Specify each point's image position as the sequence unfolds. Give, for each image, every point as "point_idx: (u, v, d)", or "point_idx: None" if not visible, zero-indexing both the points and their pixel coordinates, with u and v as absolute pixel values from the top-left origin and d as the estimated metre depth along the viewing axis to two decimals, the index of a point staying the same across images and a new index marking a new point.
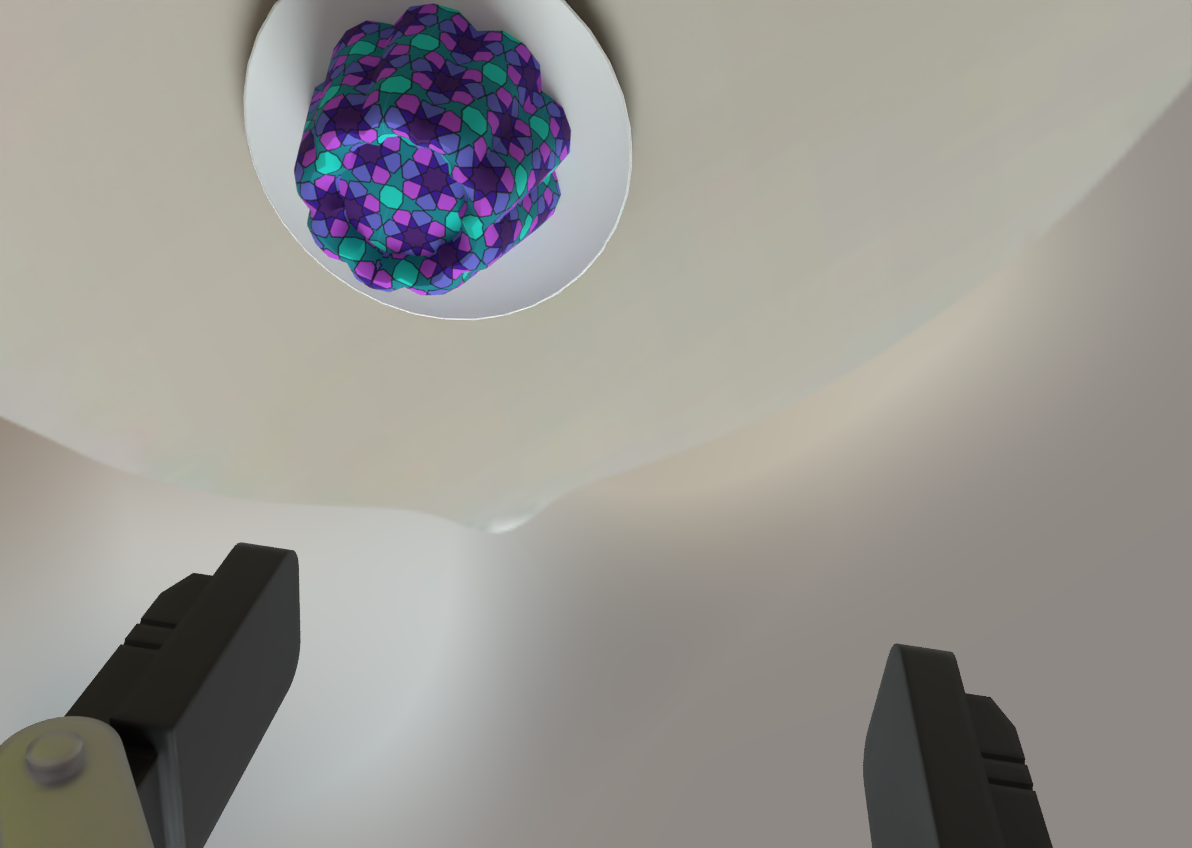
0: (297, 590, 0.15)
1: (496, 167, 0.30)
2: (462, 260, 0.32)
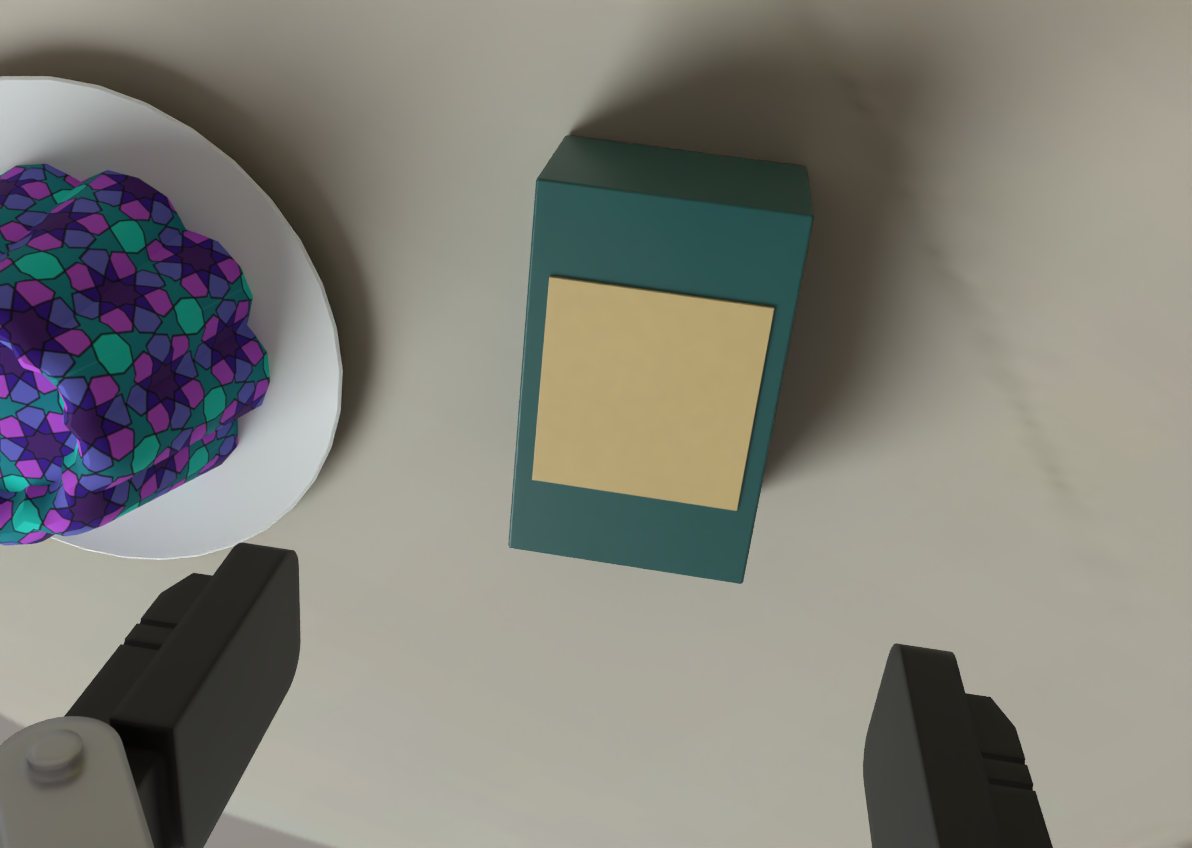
0: (297, 590, 0.15)
1: (114, 503, 0.24)
2: None
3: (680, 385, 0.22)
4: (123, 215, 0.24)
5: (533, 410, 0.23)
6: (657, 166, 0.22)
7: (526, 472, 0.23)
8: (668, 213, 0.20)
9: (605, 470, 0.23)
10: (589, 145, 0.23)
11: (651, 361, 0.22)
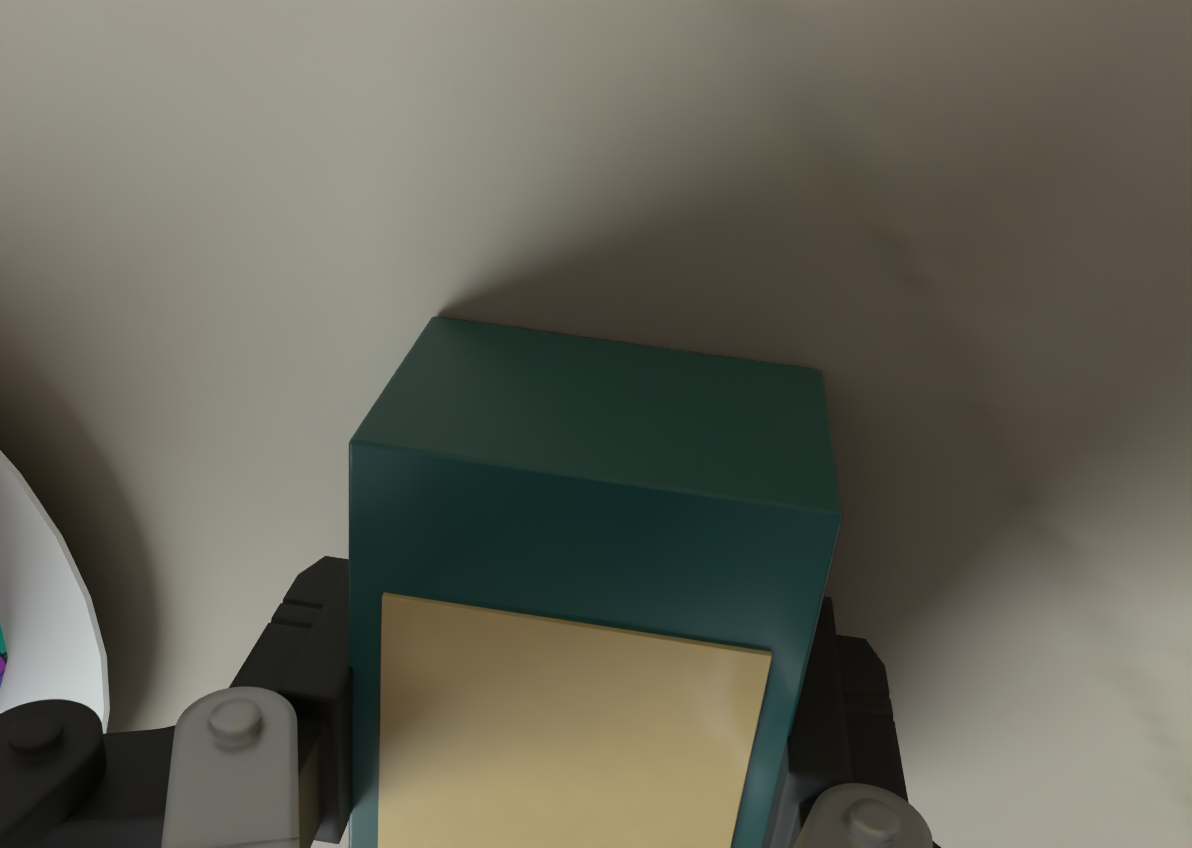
0: None
1: None
2: None
3: (612, 759, 0.13)
4: None
5: (373, 785, 0.14)
6: (574, 389, 0.13)
7: None
8: (583, 502, 0.11)
9: None
10: (466, 340, 0.14)
11: (564, 724, 0.13)
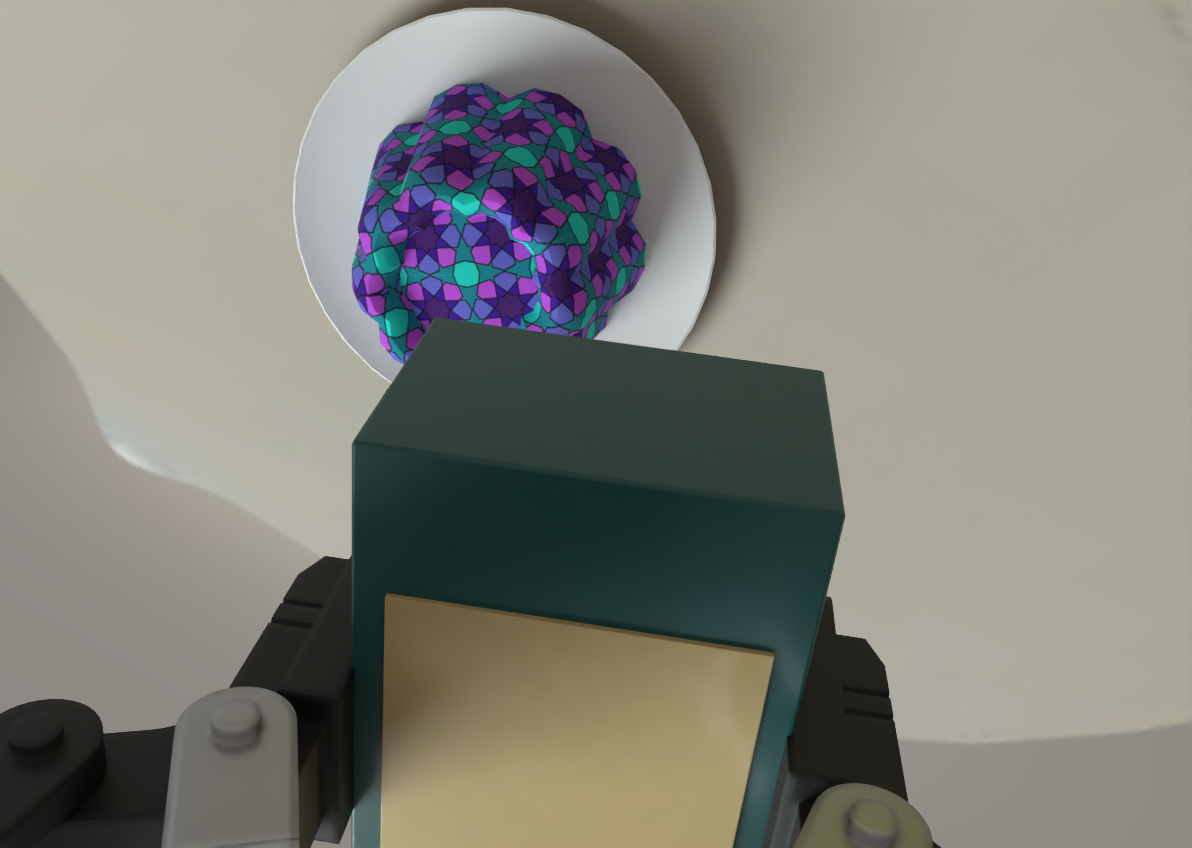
0: None
1: None
2: None
3: (615, 760, 0.13)
4: (560, 122, 0.29)
5: (375, 786, 0.14)
6: (576, 390, 0.13)
7: None
8: (586, 502, 0.11)
9: None
10: (468, 341, 0.14)
11: (566, 724, 0.13)
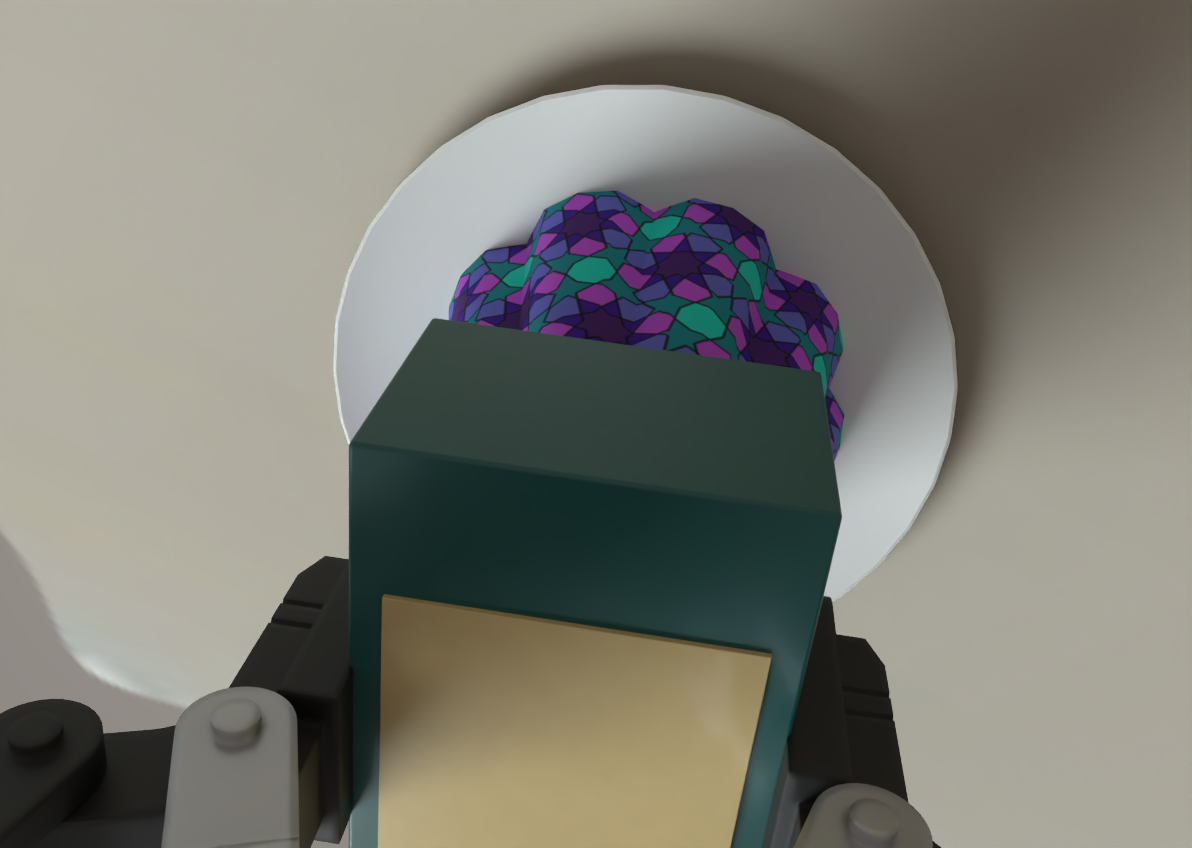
0: None
1: None
2: None
3: (612, 760, 0.13)
4: (741, 254, 0.20)
5: (373, 787, 0.14)
6: (574, 390, 0.13)
7: None
8: (583, 503, 0.11)
9: None
10: (466, 341, 0.14)
11: (564, 726, 0.13)
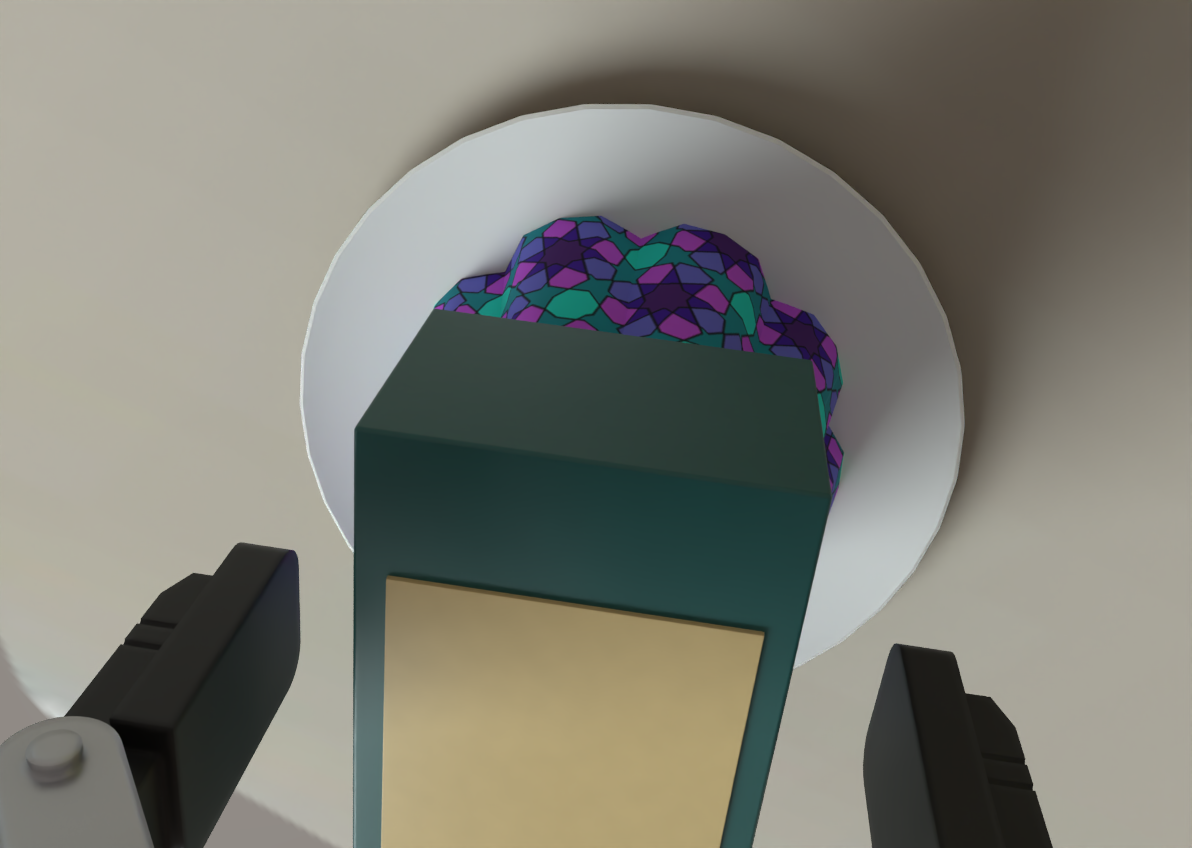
0: (297, 590, 0.15)
1: None
2: None
3: (610, 737, 0.13)
4: (733, 285, 0.18)
5: (377, 765, 0.14)
6: (572, 378, 0.13)
7: (372, 847, 0.15)
8: (581, 486, 0.12)
9: None
10: (466, 331, 0.14)
11: (563, 702, 0.13)
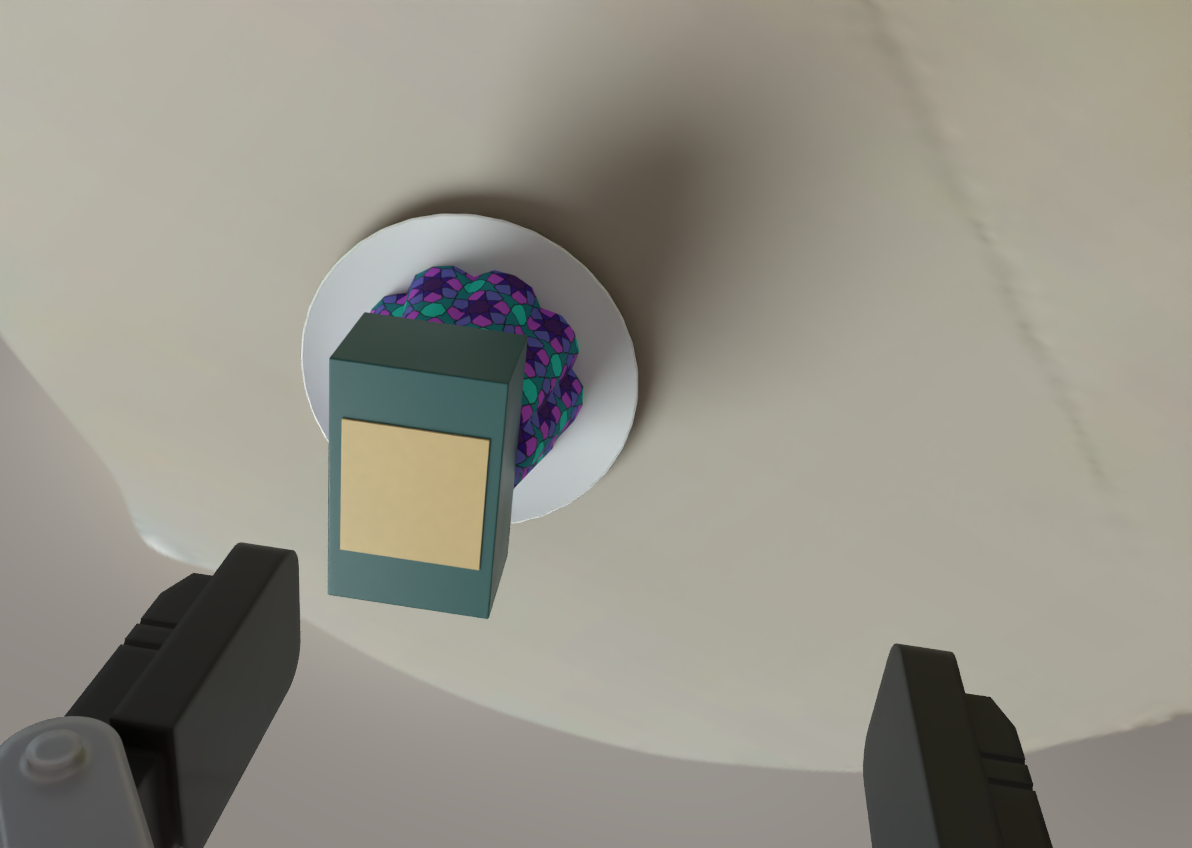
0: (297, 590, 0.15)
1: None
2: None
3: (433, 488, 0.33)
4: (514, 301, 0.38)
5: (338, 503, 0.33)
6: (419, 341, 0.33)
7: (336, 544, 0.34)
8: (416, 380, 0.31)
9: (389, 543, 0.34)
10: (377, 322, 0.34)
11: (413, 472, 0.33)
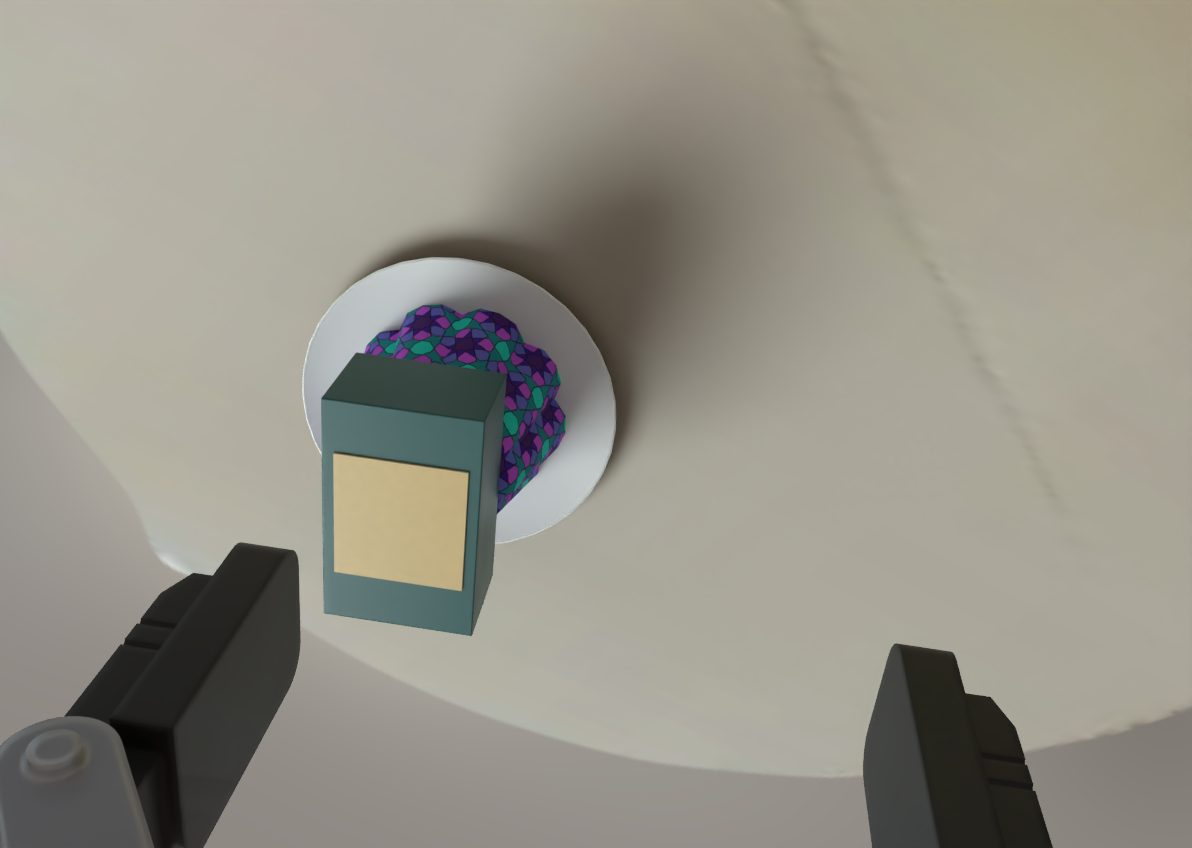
0: (297, 590, 0.15)
1: (497, 509, 0.40)
2: None
3: (418, 516, 0.35)
4: (498, 338, 0.40)
5: (331, 530, 0.36)
6: (404, 380, 0.35)
7: (330, 567, 0.37)
8: (400, 418, 0.34)
9: (379, 566, 0.36)
10: (367, 362, 0.36)
11: (400, 502, 0.35)
